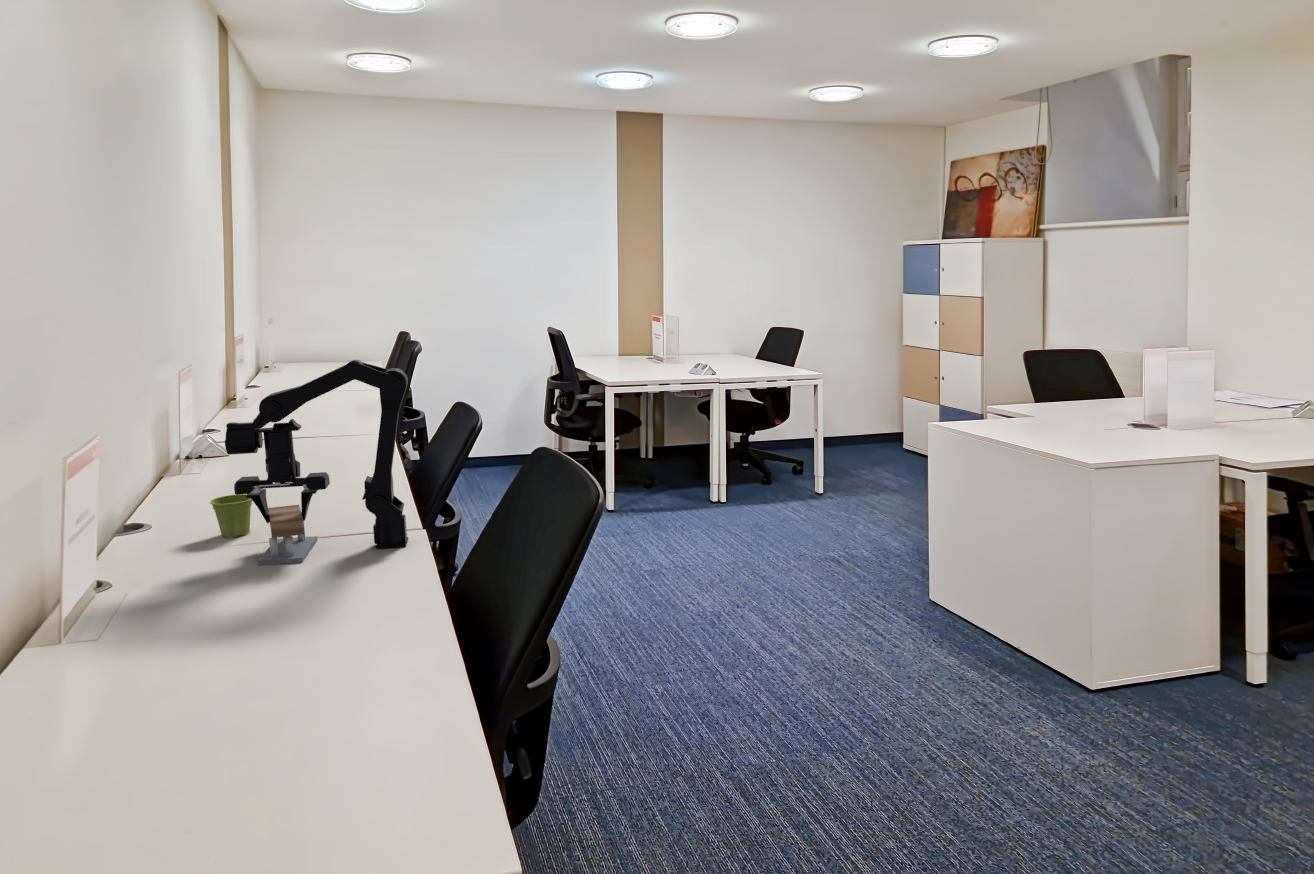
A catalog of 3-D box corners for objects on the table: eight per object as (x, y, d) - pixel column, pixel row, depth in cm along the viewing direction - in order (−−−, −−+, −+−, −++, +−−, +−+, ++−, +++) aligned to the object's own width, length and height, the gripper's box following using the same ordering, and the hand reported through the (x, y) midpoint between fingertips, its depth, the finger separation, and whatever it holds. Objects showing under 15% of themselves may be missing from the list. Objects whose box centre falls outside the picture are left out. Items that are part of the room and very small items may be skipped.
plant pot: (246, 539, 220) (242, 503, 218) (206, 540, 220) (202, 504, 218) (263, 528, 229) (260, 493, 227) (225, 529, 229) (221, 494, 228)
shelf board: (304, 534, 201) (303, 520, 201) (271, 538, 199) (270, 524, 198) (300, 517, 216) (299, 504, 215) (269, 520, 213) (268, 507, 213)
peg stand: (276, 543, 216) (274, 521, 215) (317, 540, 217) (315, 519, 217) (258, 565, 200) (255, 542, 199) (302, 562, 201) (300, 539, 200)
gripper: (330, 442, 214) (336, 509, 217) (243, 447, 211) (250, 515, 214) (322, 451, 203) (328, 522, 206) (230, 456, 200) (237, 528, 203)
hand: (286, 521), depth 207 cm, fingers closed on shelf board, 7 cm apart
